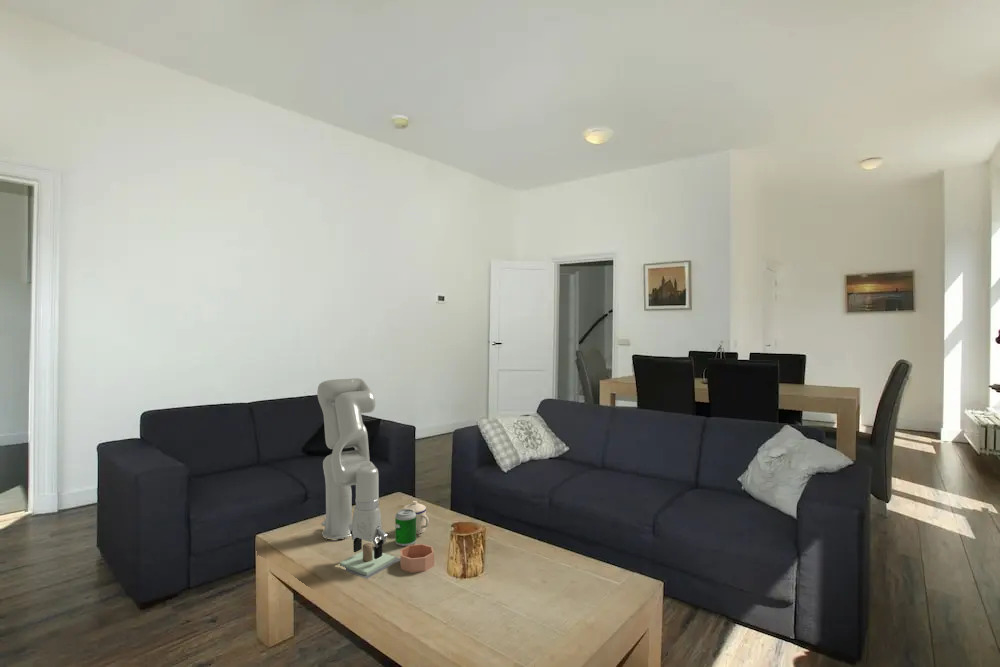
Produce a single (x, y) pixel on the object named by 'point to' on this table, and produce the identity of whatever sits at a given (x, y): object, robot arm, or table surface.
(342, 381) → the robot arm
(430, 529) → the table surface
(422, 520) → the teacup with lid
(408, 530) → the soda can
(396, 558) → the mat
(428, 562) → the bowl
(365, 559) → the lid
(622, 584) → the table surface
